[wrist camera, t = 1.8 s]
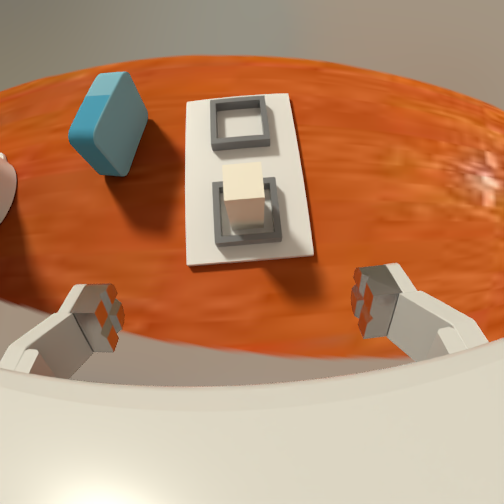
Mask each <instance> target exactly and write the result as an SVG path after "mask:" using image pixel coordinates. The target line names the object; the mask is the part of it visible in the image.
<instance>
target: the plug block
mask: <svg viewBox="0 0 504 504" xmlns="http://www.w3.org/2000/svg"><path fill="white" fill-rule="evenodd" d="M222 174H223V193H224V203H225V206H226V210H227V214H228V217H229V221H230V225H231V228H232V230H241V229H253V228H264V205H265V194H264V184H263V175H262V166H261V162H251V163H239V164H228V165H222Z"/></svg>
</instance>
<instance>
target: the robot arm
mask: <svg viewBox="0 0 504 504" xmlns="http://www.w3.org/2000/svg"><path fill="white" fill-rule="evenodd" d="M16 181H17V180H16V172H15V170H14V168H13V166H12V165H10V164H9V163H8V162H7V159H6V156H5V155H4V154H3V153H0V223H1V222H2V220H3V219H4V218H5V216H6V214H7V212H8V210H9V208H10V206H11V204H12V201H13V198H14V195H15V190H16ZM353 278H354V280H355V283H356V285H355V286H354V287H353V288H352V291H351V306H352V310H353V313H354V316H356V317H357V318H359V322H358V326H359V329H360V331H361V334H362V336H363V339H367V338H375V337H383V336H387V338H388V339H390V340H391V341H392V342H393V343H394V344H396V345H397V346H398V347H399V348H400V349H401V350H403V351H404V352H405V353H406V354H407V355H409V356H410V357H411V358H412V359H413V360H414V361H416V362H414V363H409V364H405V365H400V366H395V367H390V368H385V369H379V370H374V371H368V372H362V373H356V374H349V375H343V376H337V377H328V378H321V379H312V380H303V381H293V382H283V383H271V384H255V385H237V386H202V387H201V386H200V387H197V386H196V387H184V386H182V387H181V386H142V385H124V384H110V383H98V382H87V381H78V380H70V379H69V378H70V377H71V376H72V375H73V374H74V373H75V372H76V371H77V370H78V369H79V368H80V366H81V365H83V363H84V362H85V361H86V360H87V359H88V358H89V357H90V356H91V355H92V354H93V352H114V351H115V347H116V345H117V342H118V339H119V338H118V336H117V333H118V332H119V331H120V330H122V328H123V325H124V317H125V314H124V309H123V306H122V304H121V302H119V301H118V300H117V299H116V296H117V291H116V288H115V286H114V285H113V284H77V285H74V286H73V288H72V289H71V291H70V293H69V294H68V296H67V297H66V299H65V301H64V302H63V304H62V306H61V308H60V309H59V311H58V313H53V314H52V315H51V316H49V317H48V318H46V319H45V320H43V321H42V322H41V323H39V324H38V325H36V326H35V327H34V328H32V329H31V330H30V331H28V332H27V333H25V334H24V335H23V336H21V337H20V338H18V339H17V340H16V341H14V342H13V343H12V344H10V345H9V347H8V349H7V350H6V352H5V353H4V356H3V357H2V359H1V361H0V504H504V338H501V339H498V340H495V341H492V342H488V340H487V339H486V337H485V336H484V334H483V333H482V331H481V329H480V328H479V326H478V325H477V324H476V322H475V321H474V320H473V319H471V318H470V317H468V316H466V315H464V314H463V313H461V312H459V311H457V310H455V309H454V308H452V307H450V306H448V305H446V304H445V303H443V302H441V301H439V300H437V299H435V298H434V297H432V296H430V295H428V294H426V293H424V292H423V291H417V290H416V288H415V287H414V285H413V284H412V282H411V281H410V279H409V278H408V276H407V275H406V274H405V272H404V271H403V269H402V268H401V266H400V265H399V264H398V263H392V264H384V265H378V266H368V267H358V268H356V269H355V271H354V277H353Z"/></svg>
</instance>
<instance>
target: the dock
mask: <svg viewBox="0 0 504 504" xmlns="http://www.w3.org/2000/svg"><path fill="white" fill-rule="evenodd" d="M251 162H261V166H262V175H263V184H264V194H265V205H264V228H253V229H241V230H232V228H231V225H230V221H229V217H228V214H227V210H226V206H225V203H224V193H223V174H222V165H228V164H239V163H251ZM185 215H186V254H187V265H188V266H200V265H212V264H224V263H237V262H249V261H261V260H273V259H284V258H296V257H307V256H313V255H314V251H313V243H312V236H311V228H310V221H309V214H308V207H307V200H306V193H305V187H304V180H303V174H302V168H301V162H300V156H299V150H298V144H297V138H296V133H295V127H294V122H293V117H292V111H291V106H290V101H289V96H288V93H286V94H264V95H248V96H236V97H225V98H216V99H207V100H199V101H192V102H187V109H186V147H185Z"/></svg>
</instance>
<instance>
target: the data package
mask: <svg viewBox="0 0 504 504" xmlns="http://www.w3.org/2000/svg"><path fill="white" fill-rule="evenodd" d="M147 120H148V112H147V109H146V107H145V105H144V103H143V101H142V99H141V97H140V95H139V93H138V91H137V89H136V87H135V85H134V83H133V80H132V78H131V76H130V74H129V73H128V72H113V73H101V74H99V75H98V76H97V77H96V79H95V80H94V82H93V84H92V86H91V88H90V89H89V91H88V93H87V95H86V97H85V99H84V101H83V103H82V105H81V106H80V108H79V110H78V112H77V115H76V117H75V119H74V121H73V123H72V125H71V127H70V129H69V134H68V138H69V142H70V144H71V145H72V146H73V147H74V148H75V150H76V151H77V152H78V153H79V154H80V155H81V156H82V157H83V158H84V159H85V160H86V161H87V162H88V163H89V164H90V165H91V166H92V167H93V168H94V169H95V170H96V171H97V172H98V173H99V174H100V175H111V176H126V175H127V174H128V172H129V170H130V167H131V164H132V161H133V158H134V156H135V153H136V150H137V147H138V144H139V142H140V139H141V136H142V134H143V131H144V129H145V126H146V123H147Z"/></svg>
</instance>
